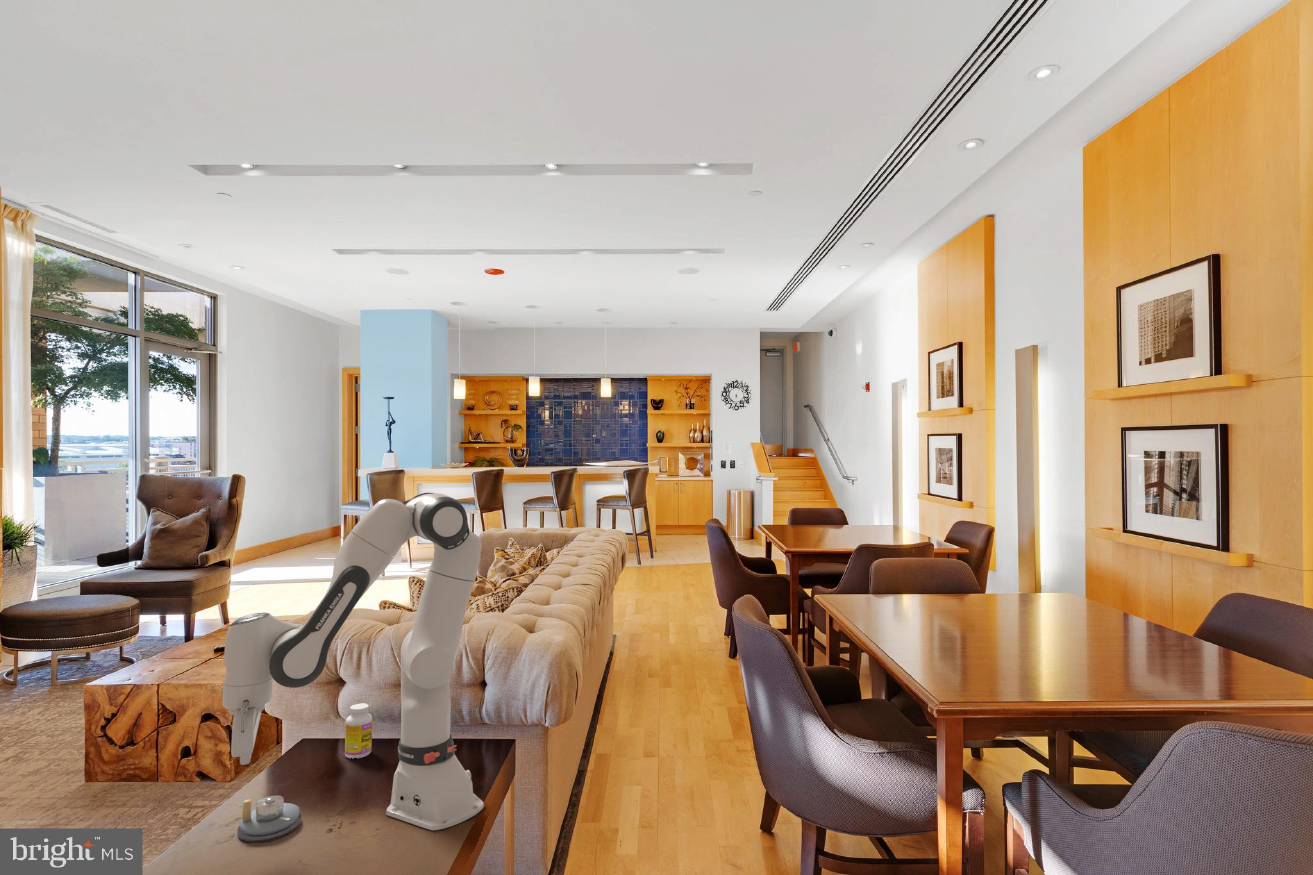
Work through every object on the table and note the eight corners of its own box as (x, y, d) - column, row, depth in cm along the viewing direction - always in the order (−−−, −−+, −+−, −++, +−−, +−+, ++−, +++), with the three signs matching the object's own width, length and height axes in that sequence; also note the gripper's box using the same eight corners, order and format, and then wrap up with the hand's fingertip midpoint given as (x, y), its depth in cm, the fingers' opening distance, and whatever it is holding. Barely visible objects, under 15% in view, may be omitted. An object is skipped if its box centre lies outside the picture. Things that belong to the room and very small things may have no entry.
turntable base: (311, 825, 149) (311, 820, 149) (251, 849, 140) (251, 844, 140) (286, 807, 157) (286, 803, 157) (228, 829, 147) (228, 824, 147)
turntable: (308, 819, 149) (309, 795, 149) (252, 841, 140) (253, 815, 141) (285, 803, 156) (286, 780, 156) (231, 823, 147) (231, 798, 148)
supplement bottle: (361, 760, 182) (362, 711, 182) (339, 758, 183) (340, 709, 183) (376, 750, 188) (377, 702, 189) (355, 748, 189) (356, 701, 190)
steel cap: (287, 815, 148) (287, 797, 149) (261, 825, 144) (262, 806, 145) (277, 807, 152) (277, 790, 152) (251, 817, 148) (252, 799, 148)
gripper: (261, 707, 134) (259, 779, 134) (268, 677, 153) (266, 741, 152) (223, 712, 131) (221, 786, 131) (235, 681, 150) (233, 746, 149)
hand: (245, 761), depth 142 cm, fingers closed
